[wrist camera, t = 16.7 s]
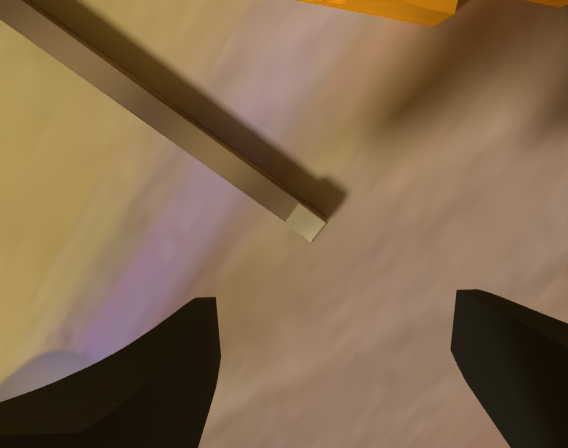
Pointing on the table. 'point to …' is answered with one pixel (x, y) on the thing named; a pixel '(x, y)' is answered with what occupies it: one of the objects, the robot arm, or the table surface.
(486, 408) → the robot arm
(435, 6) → the pipe clamp
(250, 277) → the table surface
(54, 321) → the table surface
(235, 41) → the table surface
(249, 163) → the guide rails
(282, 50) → the table surface
